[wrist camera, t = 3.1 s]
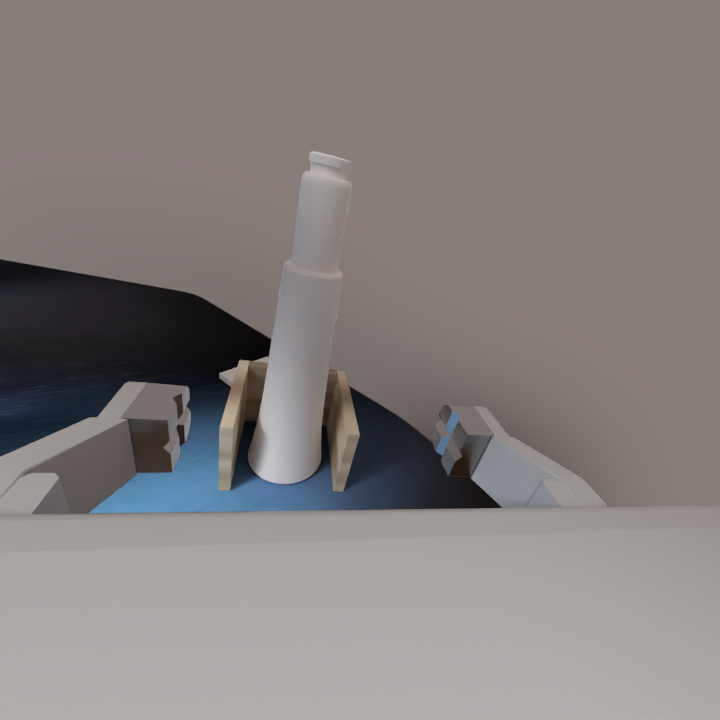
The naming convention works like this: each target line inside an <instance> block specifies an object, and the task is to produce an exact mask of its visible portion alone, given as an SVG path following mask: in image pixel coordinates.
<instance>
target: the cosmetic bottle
mask: <svg viewBox="0 0 720 720" xmlns="http://www.w3.org/2000/svg"><path fill="white" fill-rule="evenodd" d="M309 161H310V162H311V168H310V172H309V171H305V172H304V173H303V175H302V178H301V185H300V195H299V202H298V210H297V220H296V228H295V236H294V245H293V252H292V259H290V260H287V261H286V262H285V263H284V267H283V273H282V279H281V284H280V291H279V296H278V302H277V308H276V314H275V320H274V327H273V334H272V340H271V347H270V353H269V360H268V366H267V373H266V379H265V385H264V391H263V396H262V401H261V406H260V411H259V415H258V420H257V424H256V428H255V431H254V435H253V438H252V441H251V444H250V447H249V450H248V462H249V465H250V467H251V468H252V470H253V471H254V472H255V473H256V474H257V475H258V476H259V477H261V478H262V479H264V480H266V481H269V482H272V483H276V484H293V483H298V482H301V481H303V480H305V479H307V478H309V477H310V476H311V475H313V474H314V473H315V471H316V470H317V469H318V467H319V465H320V462H321V433H322V419H323V409H324V401H325V393H326V386H327V380H328V373H329V366H330V360H331V353H332V346H333V341H334V334H335V328H336V320H337V314H338V307H339V300H340V292H341V285H342V277H343V275H342V272H341V271H340V270H339V269H338V268H337V267H338V262H339V257H340V251H341V245H342V241H343V235H344V230H345V225H346V219H347V214H348V209H349V203H350V198H351V193H352V185H351V183H350V182H349V181H346V179H347V174H348V171H350V170H351V165H352V163H351V162H349V161H348V160H345V159H342V158H339V157H335V156H331V155H327V154H324V153H319V152H310V155H309Z"/></svg>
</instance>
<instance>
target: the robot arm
mask: <svg viewBox="0 0 720 720" xmlns="http://www.w3.org/2000/svg"><path fill="white" fill-rule="evenodd" d="M189 399H190V395H189V388H188V387H187V386H178V385H167V384H156V383H144V382H127V383H125V384H124V385H123V386H122V387H121V389H120V390H119V391H118V392H117V393H116V395H115V396H114V397H113V398H112V400H111V401H110V402H109V403H108V404H107V406H106V407H105V408H104V409H103V410H102V412H101V413H100V414H99V415H98V416H97V418H96V417H90V418H87V419H85V420H83V421H80V422H78V423H76V424H74V425H71V426H69V427H67V428H65V429H62V430H60V431H58V432H55V433H53V434H51V435H49V436H46V437H44V438H42V439H40V440H37V441H35V442H33V443H30V444H28V445H26V446H24V447H21V448H19V449H17V450H15V451H12V452H10V453H8V454H6V455H3V456H1V457H0V720H720V507H719V506H711V505H696V506H630V507H629V506H626V507H625V506H624V507H623V506H622V507H608V506H607V505H606V504H605V502H604V501H603V500H602V499H601V498H600V497H599V496H598V495H597V494H596V493H595V492H594V490H593V489H592V488H591V487H590V486H589V485H588V484H587V483H586V482H585V481H584V480H583V479H582V478H580V477H579V476H577V475H576V474H574V473H572V472H571V471H569V470H567V469H566V468H564V467H562V466H561V465H559V464H557V463H556V462H554V461H552V460H551V459H549V458H547V457H546V456H544V455H542V454H541V453H539V452H537V451H536V450H534V449H532V448H531V447H529V446H527V445H526V444H524V443H522V442H521V441H519V440H517V439H516V438H514V437H510V436H509V435H508V434H507V433H506V431H505V430H504V429H503V428H502V427H501V425H500V424H499V423H498V422H497V420H496V419H495V418H494V417H493V415H492V414H491V413H490V412H489V410H488V409H487V408H485V407H480V406H479V407H478V406H470V407H469V406H453V405H444V406H443V407H442V408H441V410H440V413H439V416H440V418H441V420H440V421H438V422H437V423H436V424H435V426H434V428H433V432H432V442H433V446H434V448H435V450H436V451H437V452H438V453H439V454H440V455H442V459H441V462H442V464H443V466H444V468H445V470H446V472H447V474H448V476H455V477H471V479H472V480H473V481H474V482H476V483H477V484H478V485H479V486H480V487H481V488H482V489H483V490H484V491H485V492H486V493H487V494H488V495H489V496H491V497H492V498H493V499H494V500H495V501H496V502H497V503H498V504H499V505H500V506H501V507H502V508H480V509H388V510H317V511H242V512H166V513H90V514H88V513H89V512H90V511H91V510H93V509H94V508H95V507H96V506H98V505H99V504H100V503H102V502H103V501H104V500H105V499H107V498H108V497H109V496H110V495H112V494H113V493H114V492H115V491H117V490H118V489H119V488H121V487H122V486H123V485H124V484H126V483H127V482H128V481H129V480H131V479H132V478H133V477H134V476H136V475H137V473H169V472H173V470H174V467H175V465H176V463H177V460H178V458H179V456H180V446H181V445H182V444H184V443H185V441H186V439H187V436H188V433H189V428H190V420H191V413H190V410H189V409H188V408H187V407H186V406H187V404H188V401H189Z"/></svg>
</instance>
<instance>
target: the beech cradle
mask: <svg viewBox="0 0 720 720" xmlns="http://www.w3.org/2000/svg"><path fill="white" fill-rule="evenodd" d="M267 366H268V363H265V362H255V361H245V360H239V363H238V367H237V370H236V374H235V377H234V380H233V384H232V387H231V390H230V394H229V397H228V400H227V404H226V407H225V411H224V414H223V417H222V421H221V424H220V427H219V483H218V490H230V489H231V484H232V479H233V474H234V470H235V465H236V460H237V455H238V450H239V446H240V441H241V436H242V431H243V426H244V422H245V421H254V422H257V420H258V415H259V411H260V406H261V401H262V396H263V391H264V385H265V379H266V373H267ZM322 426H326V427H327V436H328V446H329V455H330V465H331V474H332V484H333V491H344V487H345V484H346V480H347V477H348V474H349V470H350V467H351V464H352V460H353V457H354V453H355V450H356V447H357V443H358V440H359V436H360V433H359V429H358V424H357V420H356V415H355V411H354V406H353V402H352V397H351V393H350V388H349V384H348V380H347V375H346V371H342V370H332V369H329V373H328V380H327V386H326V393H325V401H324V409H323V419H322Z"/></svg>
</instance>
